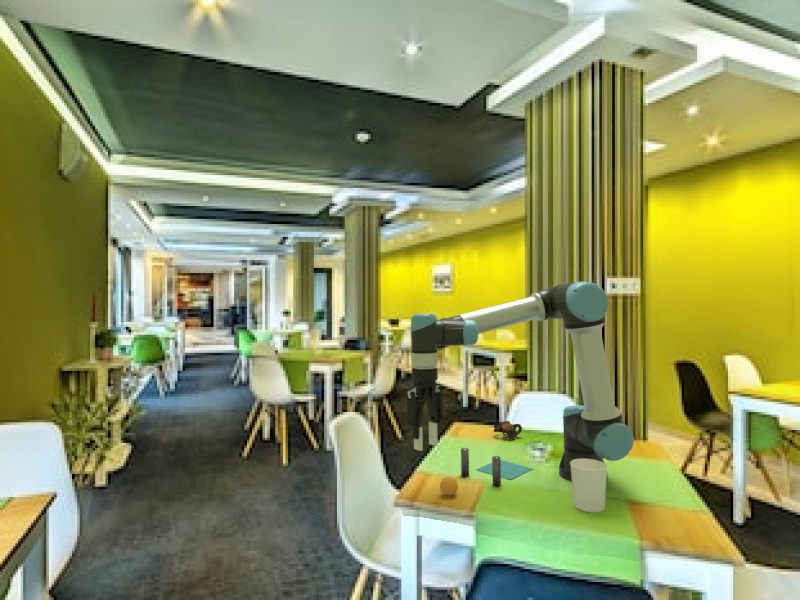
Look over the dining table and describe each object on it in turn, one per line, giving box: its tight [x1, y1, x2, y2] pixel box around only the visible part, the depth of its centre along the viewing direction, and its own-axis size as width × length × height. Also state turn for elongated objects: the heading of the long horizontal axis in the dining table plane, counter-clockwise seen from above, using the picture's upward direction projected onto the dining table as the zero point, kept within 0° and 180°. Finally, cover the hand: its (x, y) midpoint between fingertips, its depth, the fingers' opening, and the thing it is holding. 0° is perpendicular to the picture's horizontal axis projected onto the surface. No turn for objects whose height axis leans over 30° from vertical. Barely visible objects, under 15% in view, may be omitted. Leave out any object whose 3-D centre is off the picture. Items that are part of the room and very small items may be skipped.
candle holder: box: [570, 459, 608, 514], centre depth 136 cm, size 10×10×12 cm
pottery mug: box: [493, 420, 523, 441], centre depth 206 cm, size 12×10×8 cm
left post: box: [460, 447, 470, 478], centre depth 162 cm, size 3×3×9 cm
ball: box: [439, 475, 459, 497], centre depth 146 cm, size 6×6×6 cm
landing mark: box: [475, 459, 534, 481], centre depth 167 cm, size 14×14×1 cm
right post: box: [491, 455, 502, 488], centre depth 153 cm, size 3×3×9 cm
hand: (425, 446), depth 139 cm, fingers open, 6 cm apart
